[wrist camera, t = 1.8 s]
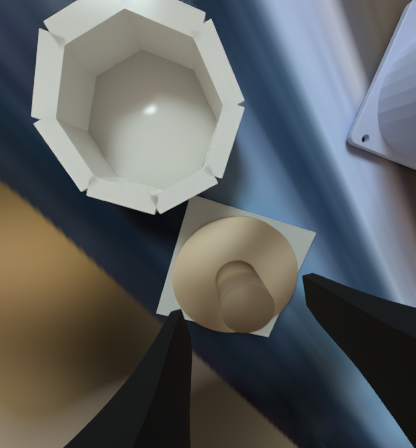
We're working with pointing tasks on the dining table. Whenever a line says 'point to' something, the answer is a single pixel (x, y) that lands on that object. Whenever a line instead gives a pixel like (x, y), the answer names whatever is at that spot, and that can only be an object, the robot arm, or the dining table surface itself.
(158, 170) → the bowl
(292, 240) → the mat
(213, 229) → the lid
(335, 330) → the robot arm
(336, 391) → the dining table surface
